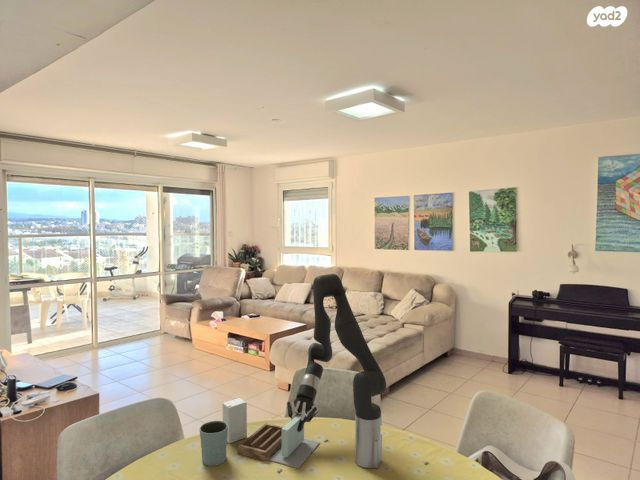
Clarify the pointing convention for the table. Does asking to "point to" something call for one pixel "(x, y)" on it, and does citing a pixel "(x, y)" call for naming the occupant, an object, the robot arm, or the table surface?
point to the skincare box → (235, 419)
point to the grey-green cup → (213, 442)
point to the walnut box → (262, 442)
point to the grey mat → (296, 454)
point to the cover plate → (291, 436)
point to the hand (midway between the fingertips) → (295, 430)
